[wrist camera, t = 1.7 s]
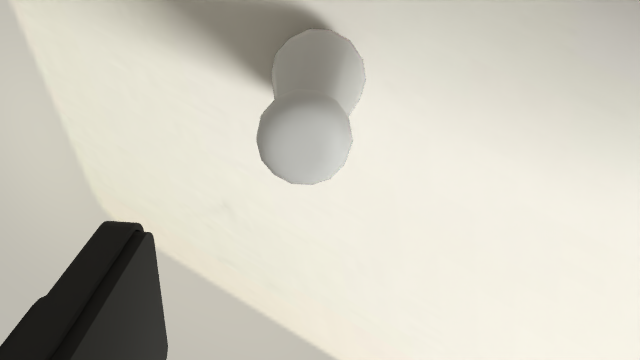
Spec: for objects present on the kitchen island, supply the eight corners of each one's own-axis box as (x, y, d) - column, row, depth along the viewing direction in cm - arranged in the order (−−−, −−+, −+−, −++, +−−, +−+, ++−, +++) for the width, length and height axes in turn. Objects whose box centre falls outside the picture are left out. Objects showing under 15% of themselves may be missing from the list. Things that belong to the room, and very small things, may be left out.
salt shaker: (259, 55, 33) (207, 132, 21) (330, 1, 31) (314, 55, 19) (312, 123, 35) (290, 227, 23) (382, 77, 33) (394, 165, 21)
